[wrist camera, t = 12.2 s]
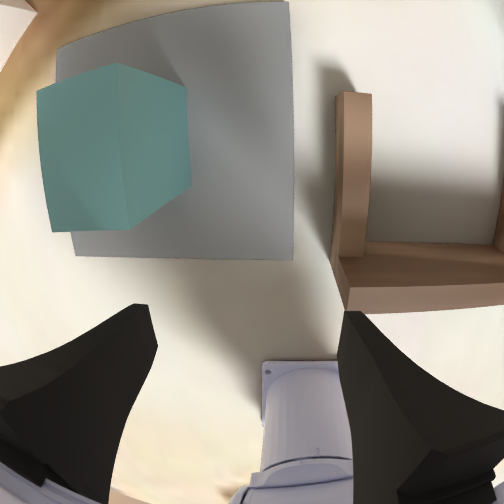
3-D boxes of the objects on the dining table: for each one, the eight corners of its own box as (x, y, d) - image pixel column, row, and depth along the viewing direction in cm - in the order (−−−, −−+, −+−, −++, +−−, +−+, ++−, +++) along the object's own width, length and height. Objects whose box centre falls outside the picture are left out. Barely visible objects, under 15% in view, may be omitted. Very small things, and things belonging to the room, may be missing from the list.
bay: (500, 262, 18) (542, 299, 12) (329, 262, 19) (346, 314, 14) (518, 132, 14) (572, 143, 8) (335, 96, 15) (361, 80, 10)
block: (191, 186, 17) (130, 229, 10) (132, 189, 18) (52, 232, 11) (186, 87, 15) (116, 62, 8) (125, 97, 16) (36, 91, 8)
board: (292, 254, 19) (292, 260, 19) (81, 252, 21) (75, 256, 20) (288, 6, 13) (288, 1, 13) (63, 50, 15) (57, 48, 14)
